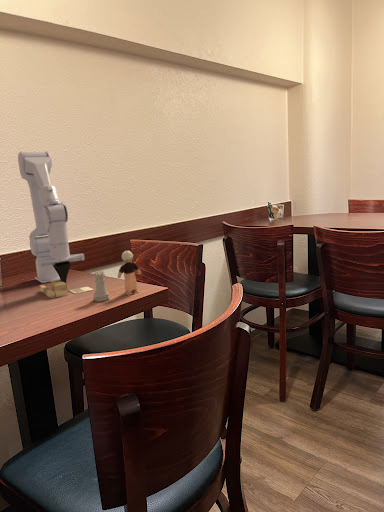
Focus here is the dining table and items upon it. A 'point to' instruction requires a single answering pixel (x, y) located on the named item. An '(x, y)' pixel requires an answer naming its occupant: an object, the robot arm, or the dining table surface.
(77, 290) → the card
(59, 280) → the alphabet block
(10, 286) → the dining table surface
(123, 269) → the grandmother figurine
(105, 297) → the rook chess piece
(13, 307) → the dining table surface
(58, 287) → the maple cube
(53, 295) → the backstop
